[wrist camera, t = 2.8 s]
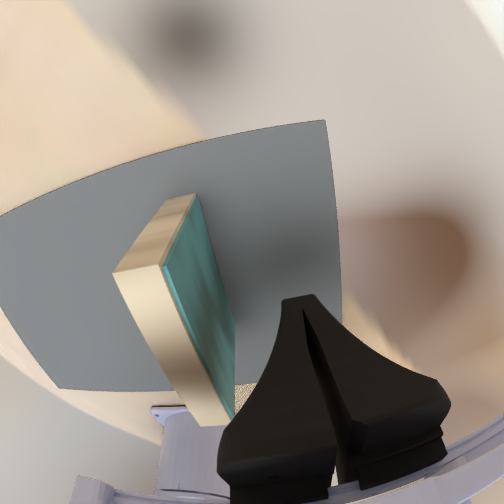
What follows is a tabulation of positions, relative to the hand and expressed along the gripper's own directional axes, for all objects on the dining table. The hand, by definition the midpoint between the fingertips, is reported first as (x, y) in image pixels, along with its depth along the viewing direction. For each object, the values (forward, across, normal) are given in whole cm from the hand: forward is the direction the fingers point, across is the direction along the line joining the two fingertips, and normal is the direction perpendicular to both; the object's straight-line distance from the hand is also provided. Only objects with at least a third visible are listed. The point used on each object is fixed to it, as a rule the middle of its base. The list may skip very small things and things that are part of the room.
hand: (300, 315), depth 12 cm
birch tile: (+5, +5, 0) cm, 7 cm away
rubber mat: (+6, +11, +2) cm, 12 cm away
